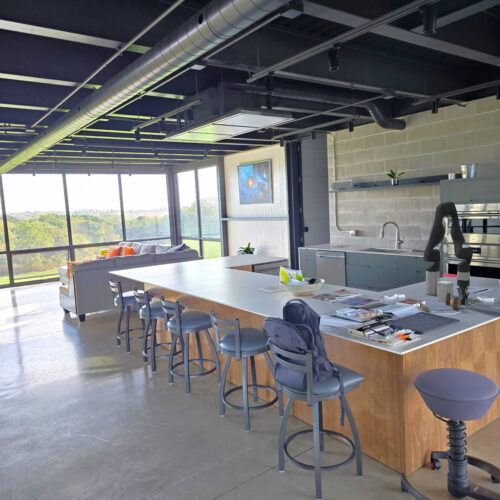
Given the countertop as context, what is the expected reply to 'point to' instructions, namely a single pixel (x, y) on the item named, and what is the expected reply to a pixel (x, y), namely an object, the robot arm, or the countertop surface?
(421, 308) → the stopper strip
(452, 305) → the ball
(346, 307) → the countertop surface
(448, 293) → the post
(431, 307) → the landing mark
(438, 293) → the small box
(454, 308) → the post
